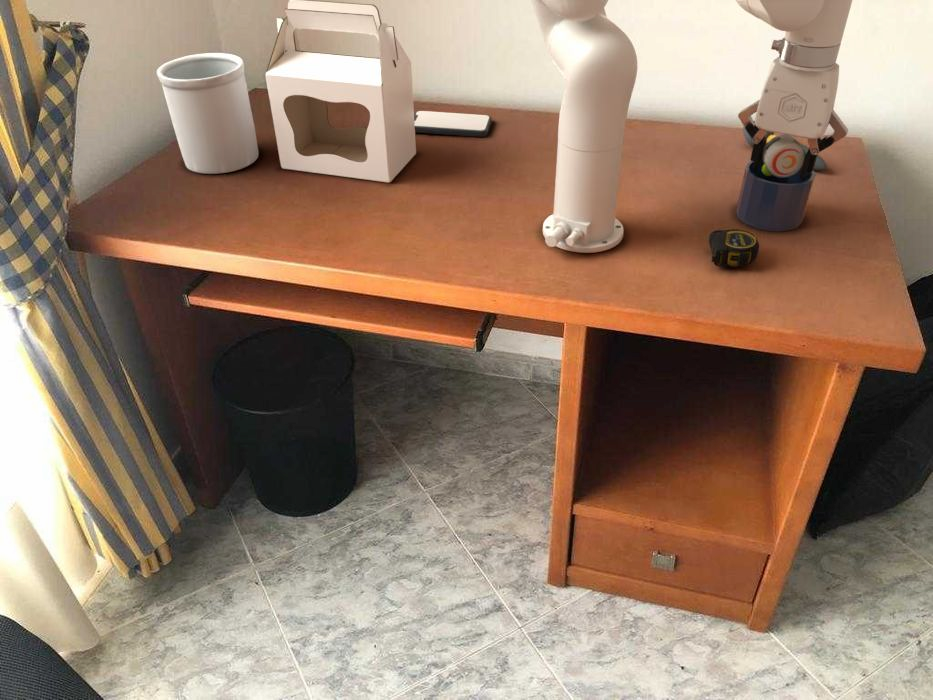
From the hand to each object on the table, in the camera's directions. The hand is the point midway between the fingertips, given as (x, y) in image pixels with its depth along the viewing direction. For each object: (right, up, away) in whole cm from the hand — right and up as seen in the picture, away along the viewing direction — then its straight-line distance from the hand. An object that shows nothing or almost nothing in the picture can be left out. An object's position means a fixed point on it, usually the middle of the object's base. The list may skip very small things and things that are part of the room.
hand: (780, 169), depth 122 cm
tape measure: (-10, -15, -6) cm, 19 cm away
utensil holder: (-95, +8, +26) cm, 99 cm away
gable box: (-71, +7, +24) cm, 75 cm away
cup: (0, -6, +5) cm, 8 cm away
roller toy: (0, -1, +1) cm, 1 cm away
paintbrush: (+9, +8, +24) cm, 27 cm away
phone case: (-52, +17, +36) cm, 66 cm away
